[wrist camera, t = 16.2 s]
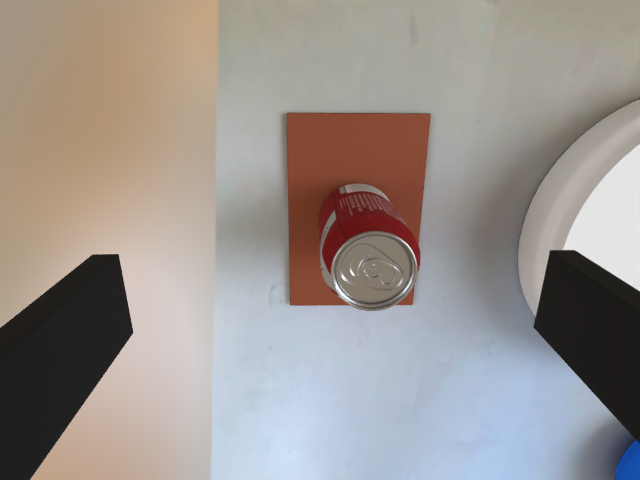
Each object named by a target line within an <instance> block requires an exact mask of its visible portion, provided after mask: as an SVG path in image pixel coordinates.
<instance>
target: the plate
mask: <svg viewBox="0 0 640 480" xmlns="http://www.w3.org/2000/svg"><path fill="white" fill-rule="evenodd" d="M550 250H575V251H577V252H579V253H580V254H582V255H583V256H585V257H586V258H588V259H590V260H591V261H593V262H594V263H596V264H598V265H599V266H601V267H602V268H604V269H605V270H607V271H609V272H610V273H612V274H613V275H615V276H616V277H618V278H620V279H621V280H623V281H624V282H626V283H628V284H629V285H631V286H632V287H634V288H635V289H637V290H639V291H640V99H639V100H637V101H634V102H632V103H630V104H628V105H626V106H624V107H622V108H620V109H618V110H616V111H615V112H613V113H612V114H610V115H609V116H607V117H605V118H604V119H602V120H601V121H599V122H598V123H597V124H595V125H594V126H593V127H591V128H590V129H589V130H588V131H586V132H585V133H584V134H583V135H582V136H581V137H580V138H578V139H577V140H576V141H575V142H574V143H573V144H572V145H571V146H570V147H569V148H568V149H567V150H566V151H565V152H564V153H563V155H562V156H561V157H560V158H559V159H558V160H557V162H556V163H555V164H554V165H553V167H552V168H551V169H550V171H549V172H548V174H547V175H546V177H545V178H544V180H543V181H542V183H541V184H540V186H539V188H538V190H537V192H536V194H535V195H534V197H533V199H532V201H531V204H530V206H529V209H528V211H527V214H526V217H525V220H524V223H523V226H522V230H521V235H520V241H519V249H518V271H519V278H520V284H521V287H522V291H523V294H524V297H525V299H526V301H527V304H528V306H529V308H530V309H531V311H532V313H533V314H534V316H535V318H536V313H537V309H538V304H539V299H540V295H541V290H542V285H543V281H544V276H545V271H546V266H547V262H548V257H549V252H550Z"/></svg>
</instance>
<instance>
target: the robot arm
mask: <svg viewBox="0 0 640 480" xmlns="http://www.w3.org/2000/svg"><path fill="white" fill-rule="evenodd" d="M534 328H535V329H536V331H537V332H538V333H539V334H540V335H541V336H542V337H543V338H544V339H545V340H546V341H547V343H548V344H549V345H550V346H551V347H552V348H553V349H554V350H555V351H556V352H557V354H558V355H559V356H560V357H561V358H562V359H563V360H564V361H565V362H566V363H567V364H568V366H569V367H570V368H571V369H572V370H573V371H574V372H575V373H576V374H577V375H578V376H579V378H580V379H581V380H582V381H583V382H584V383H585V384H586V385H587V386H588V387H589V389H590V390H591V391H592V392H593V393H594V394H595V395H596V396H597V397H598V398H599V399H600V401H601V402H602V403H603V404H604V405H605V406H606V407H607V408H608V409H609V410H610V412H611V413H612V414H613V415H614V416H615V417H616V418H617V419H618V420H619V421H620V422H621V424H622V425H623V426H624V427H625V428H626V429H627V430H628V431H629V432H630V433H631V435H632V436H633V437H634V438H635V439H636V440H637V441H638V442H639V443H640V291H639V290H637V289H635V288H634V287H632V286H631V285H629V284H628V283H626V282H624V281H623V280H621V279H620V278H618V277H616V276H615V275H613V274H612V273H610V272H609V271H607V270H605V269H604V268H602V267H601V266H599V265H598V264H596V263H594V262H593V261H591V260H590V259H588V258H586V257H585V256H583V255H582V254H580V253H579V252H577V251H575V250H550V252H549V257H548V262H547V266H546V271H545V276H544V281H543V285H542V290H541V295H540V299H539V304H538V309H537V313H536V318H535V323H534ZM132 334H133V328H132V323H131V318H130V313H129V308H128V302H127V297H126V291H125V286H124V281H123V276H122V270H121V265H120V260H119V255H118V254H105V255H103V254H102V255H92V256H90V257H89V258H88V259H87V260H85V261H84V262H83V263H82V264H80V265H79V266H78V267H77V268H75V269H74V270H73V271H71V272H70V273H69V274H68V275H66V276H65V277H64V278H63V279H61V280H60V281H59V282H58V283H56V284H55V285H54V286H53V287H51V288H50V289H49V290H48V291H46V292H45V293H44V294H43V295H41V296H40V297H39V298H38V299H36V300H35V301H34V302H32V303H31V304H30V305H29V306H28V307H26V308H25V309H24V310H22V311H21V312H20V313H19V314H17V315H16V316H15V317H14V318H13V319H11V320H10V321H9V322H7V323H6V324H5V325H4V326H2V327H1V328H0V480H30V479H31V477H32V476H33V475H34V473H35V472H36V470H37V469H38V467H39V466H40V465H41V463H42V462H43V460H44V459H45V458H46V456H47V454H48V453H49V452H50V450H51V449H52V448H53V446H54V445H55V443H56V442H57V441H58V439H59V438H60V436H61V435H62V433H63V432H64V431H65V429H66V428H67V426H68V425H69V423H70V422H71V421H72V419H73V418H74V416H75V415H76V414H77V412H78V410H79V409H80V408H81V406H82V405H83V404H84V402H85V401H86V399H87V398H88V396H89V395H90V394H91V392H92V391H93V389H94V388H95V386H96V385H97V384H98V382H99V381H100V379H101V378H102V377H103V375H104V374H105V372H106V371H107V369H108V368H109V367H110V365H111V364H112V362H113V361H114V359H115V358H116V357H117V355H118V354H119V352H120V351H121V350H122V348H123V347H124V345H125V344H126V342H127V341H128V340H129V338H130V336H131V335H132Z"/></svg>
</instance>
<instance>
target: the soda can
mask: <svg viewBox="0 0 640 480" xmlns="http://www.w3.org/2000/svg"><path fill="white" fill-rule="evenodd" d="M318 230H319V248H320V265H321V271H322V275H323V278H324V280H325V282H326V284H327V285H328V287H329V288H330V289H331V290H332V292H333V293H334V294H336V295H337V296H338V297H339V298H341V299H342V300H343V301H344V302H346V303H347V304H349V305H350V306H352V307H354V308H357V309H360V310H365V311H379V310H384V309H387V308H390V307H392V306H394V305H396V304H398V303H399V302H400V301H402V300H403V299H404V298H405V297H406V296H407V295H408V294H409V292H410V291H411V290H412V288H413V286H414V284H415V281H416V277H417V273H418V270H419V266H420V250H419V246H418V243H417V240H416V238H415V236H414V235H413V233H412V232H411V230H410V229H409V227H408V226H407V224H406V223H405V222H404V220H403V219H402V217H401V216H400V215H399V213H398V212H397V210H396V209H395V208H394V206H393V205H392V203H391V202H390V200H389V199H388V198H387V196H386V195H385V194H384V193H383V192H382V191H381V190H379V189H378V188H376V187H374V186H372V185H369V184H365V183H349V184H346V185H343V186H340V187H338V188H337V189H335V190H334V191H332V192H331V193H330V194H329V195H328V196H327V197H326V198H325V200H324V201H323V203H322V205H321V207H320V210H319V215H318Z"/></svg>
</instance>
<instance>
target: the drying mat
mask: <svg viewBox="0 0 640 480" xmlns="http://www.w3.org/2000/svg"><path fill="white" fill-rule="evenodd" d="M430 115H431V114H391V113H287V150H288V202H289V254H290V305H349V304H347V303H346V302H344V301H343V300H342V299H341V298H339V297H338V296H337V295H336V294H334V293H333V292H332V290H331V289H330V288H329V287H328V285H327V284H326V282H325V280H324V278H323V275H322V271H321V265H320V248H319V230H318V215H319V210H320V207H321V205H322V203H323V201H324V200H325V198H326V197H327V196H328V195H329V194H330V193H331V192H332V191H334V190H335V189H337V188H338V187H340V186H343V185H346V184H349V183H365V184H369V185H372V186H374V187H376V188H378V189H379V190H381V191H382V192H383V193H384V194H385V195H386V196H387V198H388V199H389V200H390V202H391V203H392V205H393V206H394V208H395V209H396V210H397V212H398V213H399V215H400V216H401V217H402V219H403V220H404V222H405V223H406V224H407V226H408V227H409V229H410V230H411V232H412V233H413V235H414V236H415V238H416V240H417V243H418V242H419V231H420V221H421V210H422V200H423V189H424V178H425V168H426V157H427V147H428V136H429V126H430ZM413 295H414V286H413V288H412V290H411V291H410V292H409V294H408V295H407V296H406V297H405V298H404V299H403V300H402V301H400V302H399V303H398V304H396V305H413Z"/></svg>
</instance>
